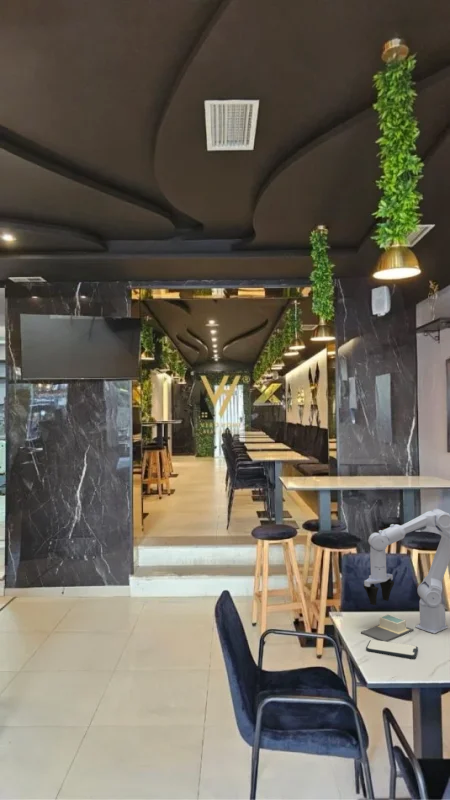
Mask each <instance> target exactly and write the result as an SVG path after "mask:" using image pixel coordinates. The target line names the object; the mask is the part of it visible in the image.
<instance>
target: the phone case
mask: <svg viewBox="0 0 450 800" xmlns="http://www.w3.org/2000/svg"><path fill="white" fill-rule="evenodd" d="M418 650H419V647H418V646H417V645H413V644H405V643H398V642H391V641H388V642H386V641H379V640H376V639H370V640H369V641H368V643H367V645H366V647H365V651H366V652H369V653H374V654H380V655H385V656H391V657H396V658H402V659H409V660H416V659H417V656H418Z"/></svg>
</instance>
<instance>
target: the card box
mask: <svg viewBox="0 0 450 800" xmlns="http://www.w3.org/2000/svg"><path fill="white" fill-rule="evenodd" d="M379 625H380V626H381V627H383V628H386V629H389V630H392V631H394V632H397V633H399V632H401V631H404V630H406V627H407V620H405V619H402V618H399V617H397V616H394V615H391V614H386V615H383V616H379Z"/></svg>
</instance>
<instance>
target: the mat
mask: <svg viewBox="0 0 450 800" xmlns="http://www.w3.org/2000/svg"><path fill="white" fill-rule="evenodd" d="M409 632H410V633H411V632H414V628H411V627H408V626H406V630H404V631H401V632H399V633H397V632H394V631H392V630H389V629H386V628H383V627H381V626H380V624H378V625H375V626H372V627H370V628H367V629H364V630H362V631H360V634H361V635H363V636H367V637H369V638H371V639H373V640H379V641H386V642H391V641H392V640H395V639H397V638H399V637H402V636H404V635H407V634H409Z"/></svg>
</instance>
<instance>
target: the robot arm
mask: <svg viewBox="0 0 450 800" xmlns="http://www.w3.org/2000/svg"><path fill="white" fill-rule="evenodd" d="M423 527H431V528H436V529H437V531H438V533H439V535H440V537H441V538H440V540H439V543H438V546H437V549H436V551H435V554H434V555H433V559H432V563H431V565H430V568H429V571H428V573H427V575H426V576H425V577H424V578H423V580H422V582H421V583H420V584H419V585H418V586H417V589H416V590H417V594H418V596H419V597H420V599H419V602H418V603H419V604H418V605H419V606H418V607H419V624H417V625H415V628H416V629H420V630H422V631H425V632H427V633H432V634H437V633H439V632H441V631H445V630H446V629H448V628H449V626H448V625H447V624H446V622H447V620H446V619H447V618H446V608H445V606H444V605H443V603H442V598H443V597H442V593H443V580H444V577H445V575H446V572H447V568H448V565H449V563H450V513H448V512H447V511H444V510H442V509H440V508H434V509H432V510H429V511H425V512H424V513H423V514H420V515H419V516H417V517H415V518H413V519H411V520H410V521H407V522H405V523H403V524H401V525H400V524H394V523H392V524H390V525H389V527H387V528H385V529H382V530H381V529H380V530H378V532H372V533H371V534H370V536H368V540H367V541H368V544H369V546H370V547H369V548H370V549H369V557H370V558H369V559H370V575H368V578H367V579H364V580H363V582H364V584H363V589H364V590H365V592H366V595H367V597H368V599H369V604H370V605H372V606H376V605H377V596H378V595H377V594H378V591H379V590H381V596H382V600H383V601H387V602H388V601H389V599H390V596H391V591H392V589H393V587H394V585H395V581H393V579H394V578H393V576H394V575H393V574H391V573H387V554H386V549H387V547H388V546H390V545H392V544H394V543H397V542H398V541H401V540H403V539H404V538H405V536H406V534H409V533H411V532H413V531H417V530H418V529H421V528H423ZM377 584H380V588H379V587H378V586H376V585H377Z"/></svg>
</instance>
